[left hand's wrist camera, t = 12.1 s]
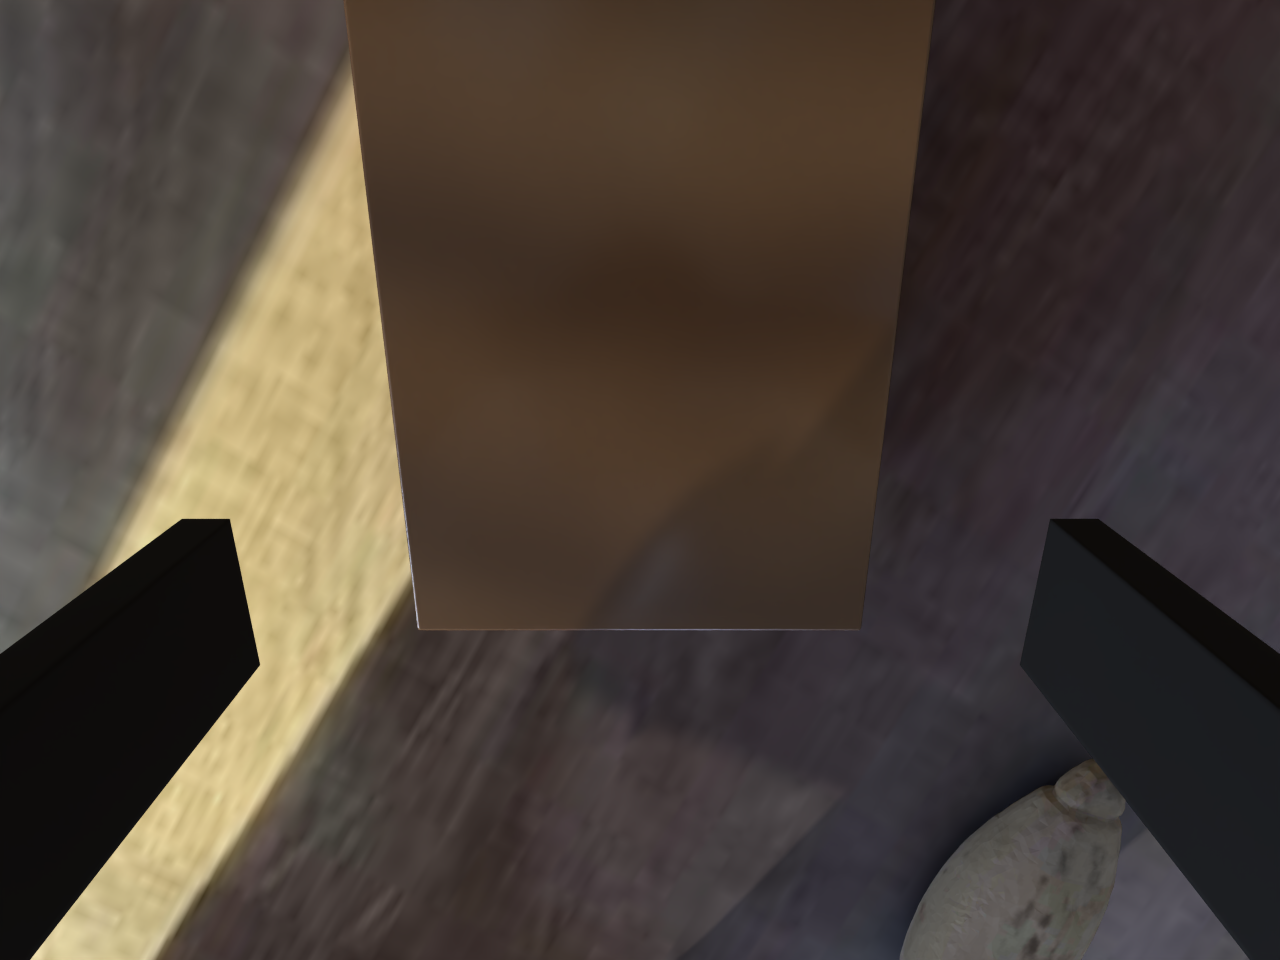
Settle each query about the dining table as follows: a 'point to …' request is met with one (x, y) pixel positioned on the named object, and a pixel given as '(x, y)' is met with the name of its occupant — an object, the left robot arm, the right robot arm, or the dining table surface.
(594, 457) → the cabinet
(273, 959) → the dining table surface
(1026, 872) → the decorative stone
